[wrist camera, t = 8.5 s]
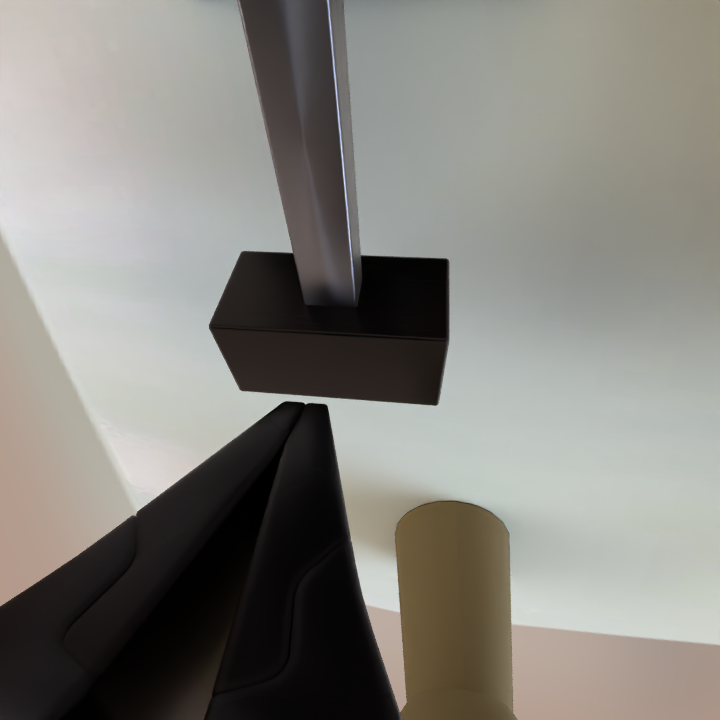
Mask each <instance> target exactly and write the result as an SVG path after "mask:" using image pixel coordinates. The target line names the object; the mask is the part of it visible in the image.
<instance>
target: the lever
mask: <svg viewBox="0 0 720 720" xmlns="http://www.w3.org/2000/svg"><path fill="white" fill-rule="evenodd" d="M237 1H238V6H239V10H240V15H241V19H242V24H243V28H244V33H245V37H246V42H247V47H248V51H249V56H250V60H251V65H252V69H253V74H254V78H255V83H256V87H257V92H258V96H259V101H260V105H261V110H262V114H263V119H264V123H265V128H266V132H267V137H268V141H269V146H270V150H271V155H272V159H273V164H274V168H275V173H276V177H277V182H278V186H279V191H280V195H281V200H282V204H283V209H284V213H285V218H286V222H287V227H288V231H289V236H290V240H291V245H292V249H293V253H283V252H255V251H243V252H241V254H240V256H239V258H238V260H237V263H236V265H235V267H234V269H233V272H232V274H231V276H230V279H229V281H228V283H227V285H226V288H225V290H224V292H223V294H222V297H221V299H220V301H219V303H218V306H217V308H216V310H215V313H214V315H213V317H212V319H211V322H210V324H209V329H210V331H211V333H212V335H213V337H214V339H215V341H216V343H217V345H218V347H219V349H220V351H221V353H222V355H223V357H224V359H225V361H226V363H227V365H228V367H229V369H230V371H231V373H232V375H233V377H234V379H235V381H236V383H237V385H238V387H239V389H240V390H241V391H250V392H263V393H276V394H289V395H302V396H315V397H329V398H342V399H355V400H368V401H381V402H395V403H408V404H421V405H434V406H436V405H438V403H439V399H440V393H441V387H442V381H443V375H444V369H445V363H446V357H447V351H448V345H449V260H448V259H446V258H421V257H393V256H366V255H361V252H360V238H359V223H358V208H357V194H356V179H355V164H354V150H353V135H352V120H351V106H350V91H349V76H348V62H347V47H346V33H345V18H344V3H343V0H237Z"/></svg>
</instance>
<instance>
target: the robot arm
mask: <svg viewBox="0 0 720 720" xmlns="http://www.w3.org/2000/svg"><path fill="white" fill-rule="evenodd" d="M0 720H402V718H401V715H400V712H399V709H398V706H397V703H396V700H395V696H394V694H393V691H392V688H391V684H390V682H389V679H388V675H387V672H386V670H385V666H384V663H383V660H382V657H381V654H380V651H379V648H378V645H377V642H376V639H375V636H374V633H373V630H372V626H371V623H370V620H369V616H368V613H367V609H366V606H365V602H364V599H363V596H362V591H361V587H360V582H359V578H358V573H357V568H356V564H355V558H354V552H353V547H352V542H351V537H350V531H349V525H348V520H347V514H346V508H345V502H344V497H343V491H342V485H341V480H340V474H339V468H338V462H337V457H336V451H335V445H334V440H333V434H332V428H331V422H330V417H329V411H328V407H327V405H325V404H316V403H308V404H306V405H305V404H304V403H302V402H290V401H286V402H283V403H282V404H280V405H279V406H278V407H276V408H275V409H274V410H272V411H271V412H270V413H268V414H267V415H266V416H264V417H263V418H262V419H260V420H259V421H258V422H256V423H255V424H254V425H252V426H251V427H250V428H248V429H247V430H246V431H244V432H243V433H242V434H240V435H239V436H238V437H236V438H235V439H234V440H232V441H231V442H230V443H228V444H227V445H226V446H224V447H223V448H222V449H220V450H219V451H218V452H216V453H215V454H214V455H212V456H211V457H210V458H208V459H207V460H206V461H204V462H203V463H202V464H200V465H199V466H198V467H196V468H195V469H194V470H192V471H191V472H190V473H188V474H187V475H186V476H184V477H183V478H182V479H180V480H179V481H178V482H176V483H175V484H174V485H172V486H171V487H170V488H168V489H167V490H166V491H164V492H163V493H162V494H160V495H159V496H158V497H156V498H155V499H154V500H152V501H151V502H150V503H148V504H147V505H146V506H144V507H143V508H142V509H140V510H139V511H138V512H137V514H136V516H134V515H133V516H131V517H130V518H128V519H127V520H126V521H124V522H123V523H122V524H120V525H119V526H118V527H116V528H115V529H114V530H112V531H111V532H110V533H108V534H107V535H105V536H104V537H103V538H101V539H100V540H98V541H97V542H96V543H94V544H93V545H92V546H90V547H89V548H87V549H86V550H85V551H83V552H82V553H80V554H79V555H78V556H76V557H75V558H73V559H72V560H70V561H69V562H67V563H66V564H64V565H63V566H61V567H60V568H58V569H57V570H55V571H54V572H52V573H51V574H49V575H48V576H46V577H45V578H43V579H42V580H40V581H39V582H37V583H36V584H34V585H33V586H31V587H29V588H28V589H26V590H25V591H23V592H22V593H20V594H19V595H17V596H16V597H14V598H12V599H11V600H9V601H8V602H6V603H5V604H3V605H2V606H0Z"/></svg>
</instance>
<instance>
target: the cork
mask: <svg viewBox="0 0 720 720" xmlns="http://www.w3.org/2000/svg"><path fill="white" fill-rule="evenodd" d="M395 543H396V557H397V571H398V585H399V599H400V613H401V626H402V627H401V628H402V642H403V655H404V670H405V684H406V698H407V703H406V705H405V706H404V708H403V709H402V711H401V712H400V715H401V718H402V720H517V718H516V717H515V715H514V714H513V686H512V684H513V683H512V641H511V640H512V639H511V592H510V547H509V532H508V531H507V529H506V527H505V525H504V523H503V522H502V521H501V520H500V519H498V518H497V517H496V516H495V515H493V514H492V513H491V512H489V511H487V510H484V509H482V508H480V507H478V506H475V505H471V504H466V503H461V502H435V503H431V504H427V505H423V506H419V507H417V508H416V509H414V510H412V511H410V512H408V513H407V514H405V516H404V517H403V518H402V519H401V520H400V521H399V523H398V525H397V528H396V532H395Z"/></svg>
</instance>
